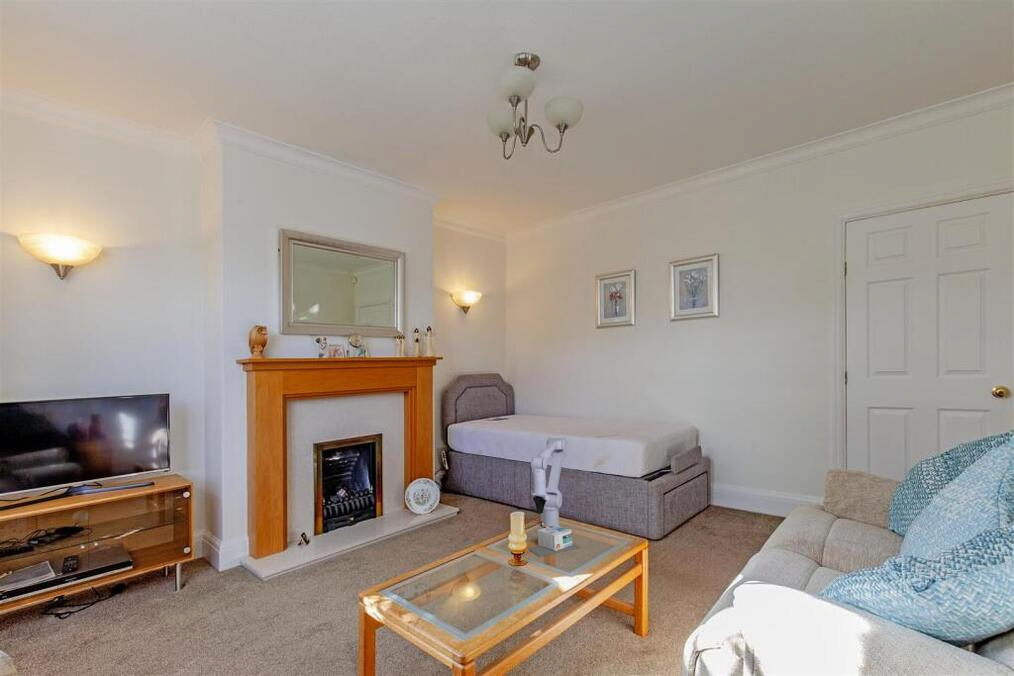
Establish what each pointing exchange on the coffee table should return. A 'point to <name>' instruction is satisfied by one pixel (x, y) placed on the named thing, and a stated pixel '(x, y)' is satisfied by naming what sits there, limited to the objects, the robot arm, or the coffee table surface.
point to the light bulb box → (555, 537)
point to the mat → (549, 550)
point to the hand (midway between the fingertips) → (540, 513)
